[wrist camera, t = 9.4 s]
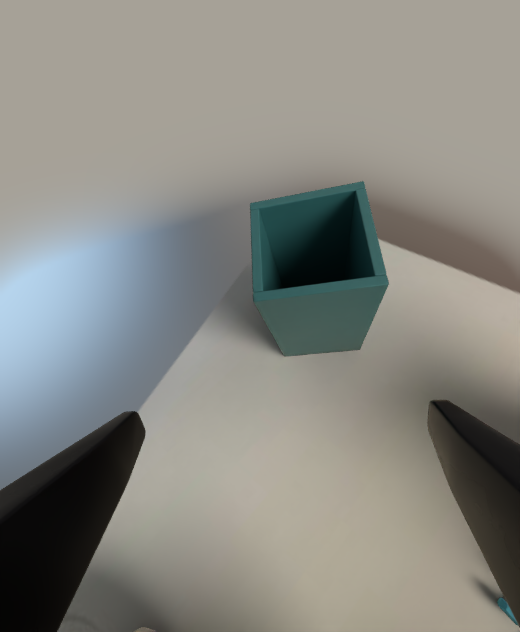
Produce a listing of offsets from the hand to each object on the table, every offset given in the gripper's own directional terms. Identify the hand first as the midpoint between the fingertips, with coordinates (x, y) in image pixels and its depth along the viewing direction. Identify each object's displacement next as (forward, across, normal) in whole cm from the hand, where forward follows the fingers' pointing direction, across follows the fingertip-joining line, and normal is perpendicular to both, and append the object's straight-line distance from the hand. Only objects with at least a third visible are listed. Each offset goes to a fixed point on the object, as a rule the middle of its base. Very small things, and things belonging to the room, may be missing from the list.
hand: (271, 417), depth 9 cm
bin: (+15, -2, +4) cm, 16 cm away
